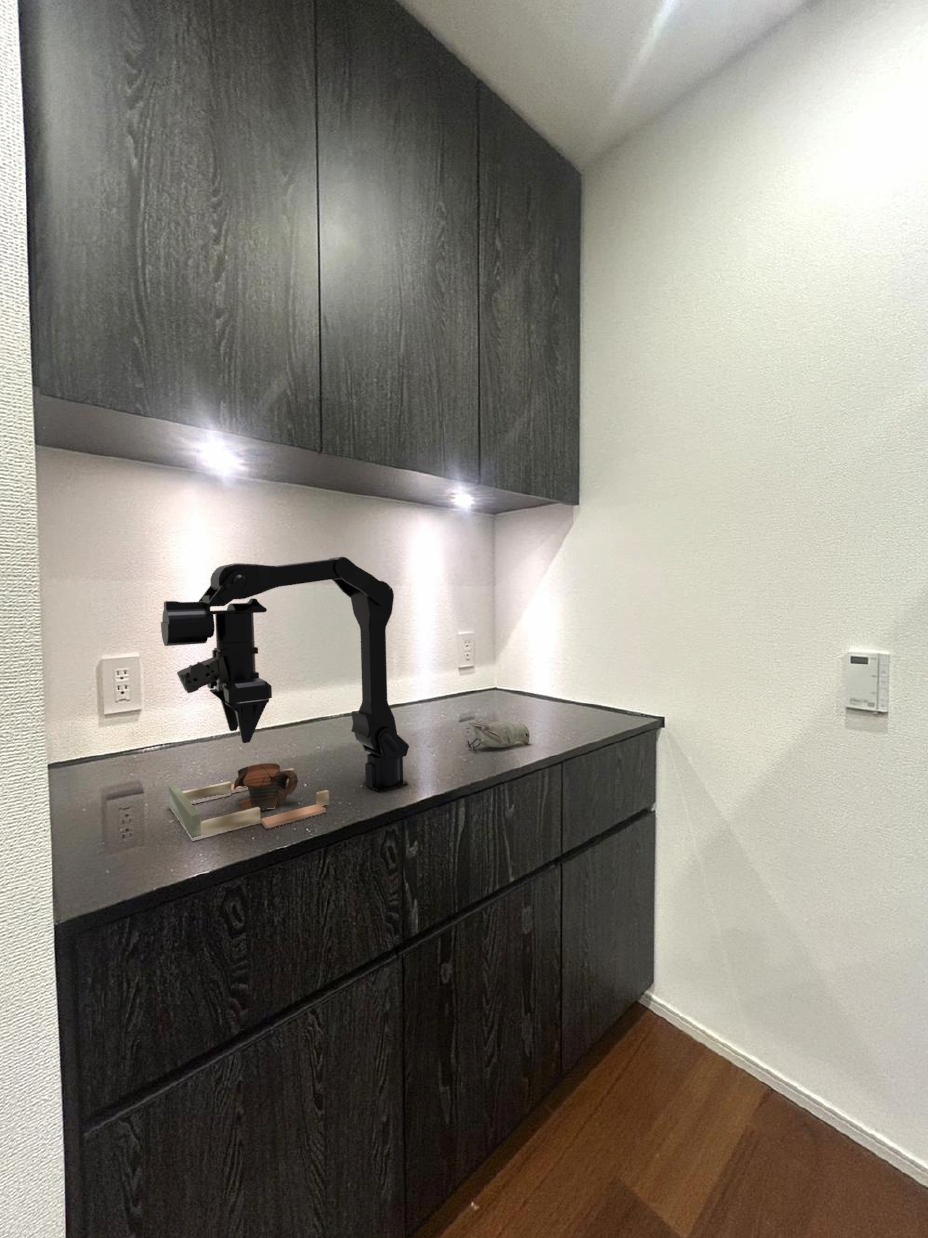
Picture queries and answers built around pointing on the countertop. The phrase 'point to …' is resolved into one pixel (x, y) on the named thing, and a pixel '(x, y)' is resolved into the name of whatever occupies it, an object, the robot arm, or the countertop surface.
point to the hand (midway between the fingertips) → (239, 736)
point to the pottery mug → (265, 785)
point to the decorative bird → (499, 734)
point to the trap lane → (197, 828)
